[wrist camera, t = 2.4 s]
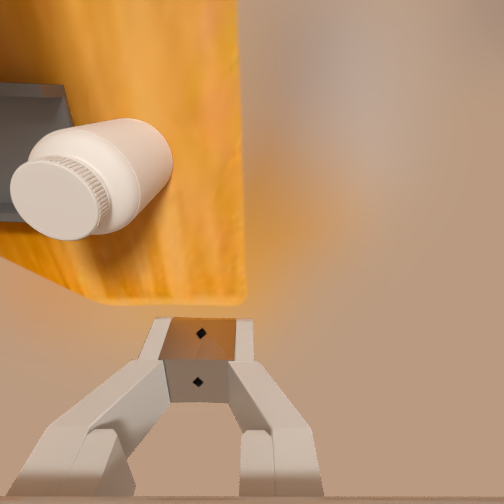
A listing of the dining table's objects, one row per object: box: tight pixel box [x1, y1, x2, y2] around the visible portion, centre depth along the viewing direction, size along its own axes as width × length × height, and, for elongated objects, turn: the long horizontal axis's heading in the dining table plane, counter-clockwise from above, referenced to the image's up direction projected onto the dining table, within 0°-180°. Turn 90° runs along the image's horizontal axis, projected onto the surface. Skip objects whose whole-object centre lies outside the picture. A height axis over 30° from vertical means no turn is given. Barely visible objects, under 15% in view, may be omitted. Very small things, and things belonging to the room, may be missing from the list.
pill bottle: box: [10, 118, 173, 241], centre depth 24 cm, size 8×8×15 cm
